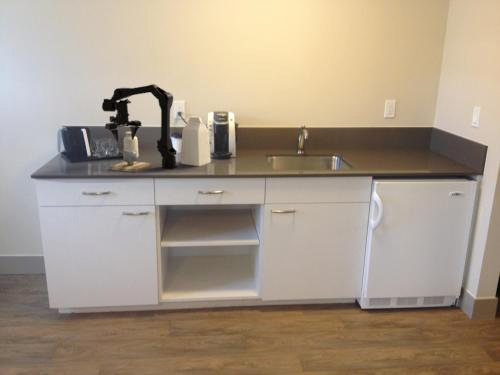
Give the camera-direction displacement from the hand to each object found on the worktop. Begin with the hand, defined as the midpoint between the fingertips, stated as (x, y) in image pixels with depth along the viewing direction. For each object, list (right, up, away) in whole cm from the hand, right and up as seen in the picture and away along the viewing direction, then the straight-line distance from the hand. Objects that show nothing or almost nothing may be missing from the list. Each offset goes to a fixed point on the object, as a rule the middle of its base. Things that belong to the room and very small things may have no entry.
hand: (124, 140), depth 247 cm
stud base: (+4, -15, -3) cm, 16 cm away
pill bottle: (-2, -8, +21) cm, 22 cm away
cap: (+4, -11, -4) cm, 12 cm away
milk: (+38, -12, +10) cm, 41 cm away
